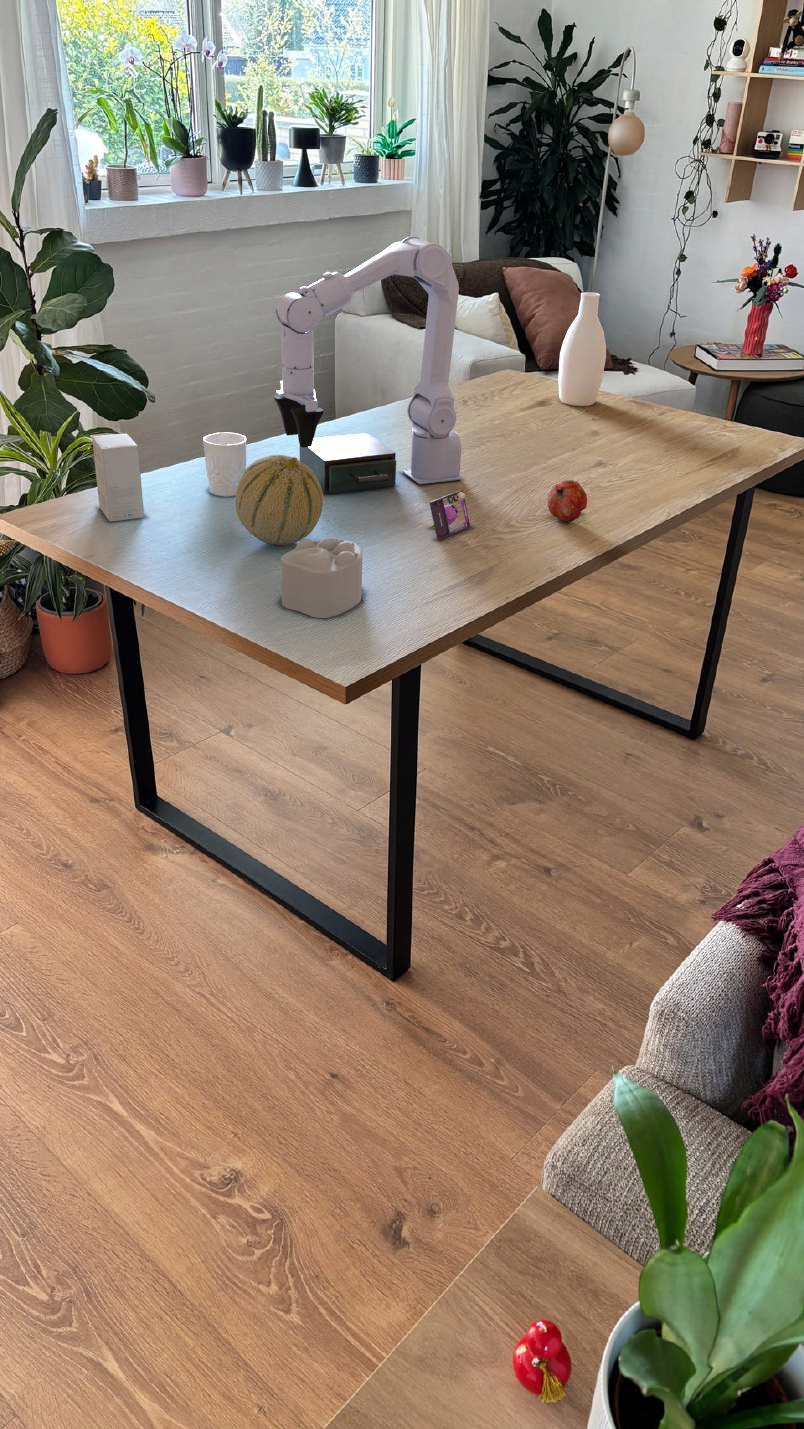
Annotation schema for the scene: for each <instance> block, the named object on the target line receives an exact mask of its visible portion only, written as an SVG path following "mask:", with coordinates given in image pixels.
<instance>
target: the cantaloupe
mask: <svg viewBox="0 0 804 1429" xmlns="http://www.w3.org/2000/svg"><path fill="white" fill-rule="evenodd" d="M234 498H235V499H234V505H235V510H236V515H237V517H238V520H239V521H240V523H241V525H242V526H243V527H244V528H245V530H246V531H247V532H248V533H249V534H250V535H252V536H253V537H254V538H256V539H257V540H258V541H261V542H262V543H267V544H268V545H269V544H270V545H278V546H279V545H280V546H285V545H286V546H287V545H291V544H294V543H298V542H299V541H301V540H303V539H306V537H308V536H309V535H310V534H311V533H312V532H313V531H314V529H315V528H316V526H317V525H318V522H319V520H320V518H321V516H322V512H323V504H324V493H323V492H322V489H321V486H320V483H319V481H318V479H317V477H316V475H315V474H314V472H313V471H312V470H311V469H310V468H309V467H308V466H307V465H305V464H304V463H302V462H300V459H298V458H297V457H295V456H289V455H284V454H271V455H267V456H264V457H262V458H259V459H257V460H255V461H253V462H252V463H251V464H249V466H246V470H245V471H244V472H243V474H242V476H241V478H240V480H239V482H238V485H237V489H236V496H235V497H234Z"/></svg>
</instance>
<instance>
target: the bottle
mask: <svg viewBox="0 0 804 1429" xmlns="http://www.w3.org/2000/svg"><path fill="white" fill-rule="evenodd" d="M600 297H601V294H600V293H598V292H591V291H583V292H581V293H580V302H579V307H578V314H577V316H576V317H575V319H574V320H573V321H572V323H571V325H570V326H569V328H568V329H567V332H566V334H565V337H564V339H563V341H562V345H561V349H560V352H559V364H558V365H559V366H558V396H559V400H560V403H563V404H566V405H569V406H576V407H588V406H592V405H594V404H595V403H596V402H597V399H598V396H599V392H600V389H601V385H602V382H603V378H604V377H603V376H604V371H605V365H606V360H607V344H606V337H605V332H604V329H603V326H602V324H601V321H600V318H599V305H600V304H599V301H600Z"/></svg>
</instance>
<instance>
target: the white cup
mask: <svg viewBox="0 0 804 1429" xmlns="http://www.w3.org/2000/svg"><path fill="white" fill-rule="evenodd" d="M202 440H203V441H202V442H203V451H204V452H203V453H204V461H205V469H206V478H207V480H208V490H209V493H210V494H212V495H214V496H219V497H236V489H237V485H238V482H239V480H240V478H241V476H242V474H243V472H244V471H245V470H246V469H247V437H246V436H245V435H243V434H240V433H235V432H215V433H210V434H208V435H205V436H204V437H203V438H202Z"/></svg>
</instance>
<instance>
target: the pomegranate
mask: <svg viewBox="0 0 804 1429" xmlns="http://www.w3.org/2000/svg"><path fill="white" fill-rule="evenodd" d="M546 502H547V509H548V511H549V513H550V514H551V515H552V517H555V518H556V519H559V520H561V521H563V522H566V523H567V522H569V523H571V522H573V521H575V520H577V519H578V518H579V517H580V516H581V515H582V512H583V511H584V510H585V509H586V508H587V506H588V495H587V493H586V491H585V490H584V488H583V486H581V484H580V483H579V482H577V481H575V480H574V479H567V480H566V479H565V480H563V481H561V482H559V483H558V484H557V483H556V484H554V485H553V486H552V487H551V489H550V491H549V494H548V496H547V501H546Z"/></svg>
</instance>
